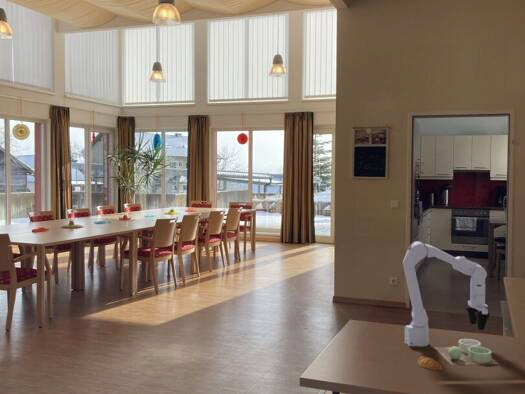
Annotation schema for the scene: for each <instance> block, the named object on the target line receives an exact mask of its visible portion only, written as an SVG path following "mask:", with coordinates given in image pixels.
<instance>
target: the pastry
mask: <svg viewBox="0 0 525 394" xmlns="http://www.w3.org/2000/svg"><path fill="white" fill-rule="evenodd" d="M416 365H418V366H419V367H421V368H423V369H428V370H432V371H442V370H443V369H444V368H443V366H442V365H441V363H439V362H438V361H436V360H435V358H432V357H428V356H424V355H423V356H421V357H419V358H418V359H417V363H416Z"/></svg>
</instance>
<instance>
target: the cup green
mask: <svg viewBox="0 0 525 394" xmlns="http://www.w3.org/2000/svg"><path fill="white" fill-rule="evenodd" d="M491 358H492V350H491V349H489V348H487V347H485V346H484V347H483V346H481V347H469V348H468V359H469V360H471V361H474V362H479V363H488V362H491Z"/></svg>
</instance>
